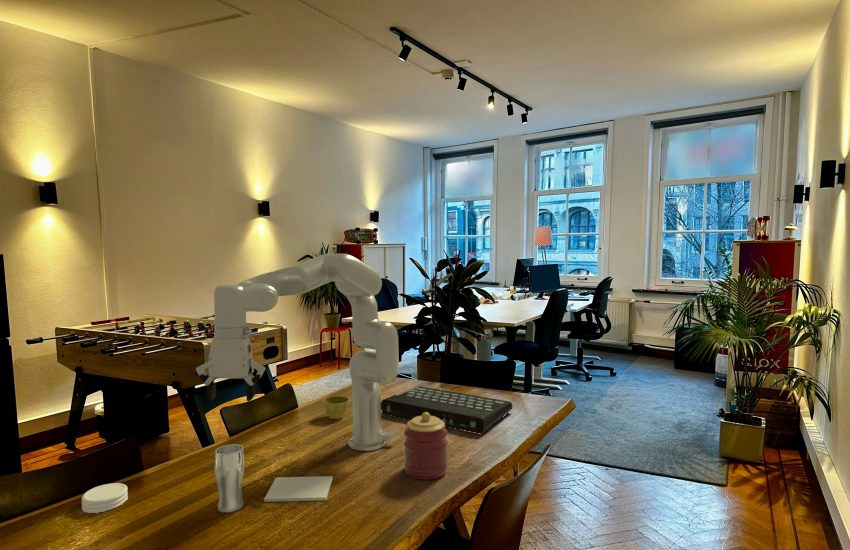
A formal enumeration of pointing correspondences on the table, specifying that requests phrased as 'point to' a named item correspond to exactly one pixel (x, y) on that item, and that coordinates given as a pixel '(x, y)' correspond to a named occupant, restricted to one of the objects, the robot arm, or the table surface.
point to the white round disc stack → (104, 497)
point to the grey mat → (299, 489)
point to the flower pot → (336, 406)
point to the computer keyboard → (448, 408)
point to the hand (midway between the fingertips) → (231, 399)
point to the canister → (425, 448)
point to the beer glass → (229, 476)
